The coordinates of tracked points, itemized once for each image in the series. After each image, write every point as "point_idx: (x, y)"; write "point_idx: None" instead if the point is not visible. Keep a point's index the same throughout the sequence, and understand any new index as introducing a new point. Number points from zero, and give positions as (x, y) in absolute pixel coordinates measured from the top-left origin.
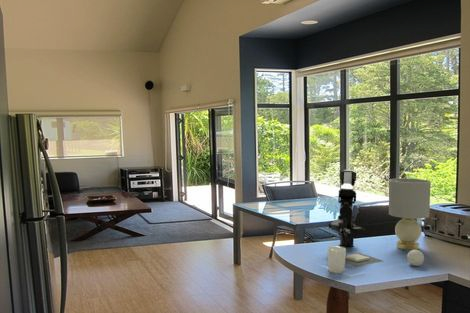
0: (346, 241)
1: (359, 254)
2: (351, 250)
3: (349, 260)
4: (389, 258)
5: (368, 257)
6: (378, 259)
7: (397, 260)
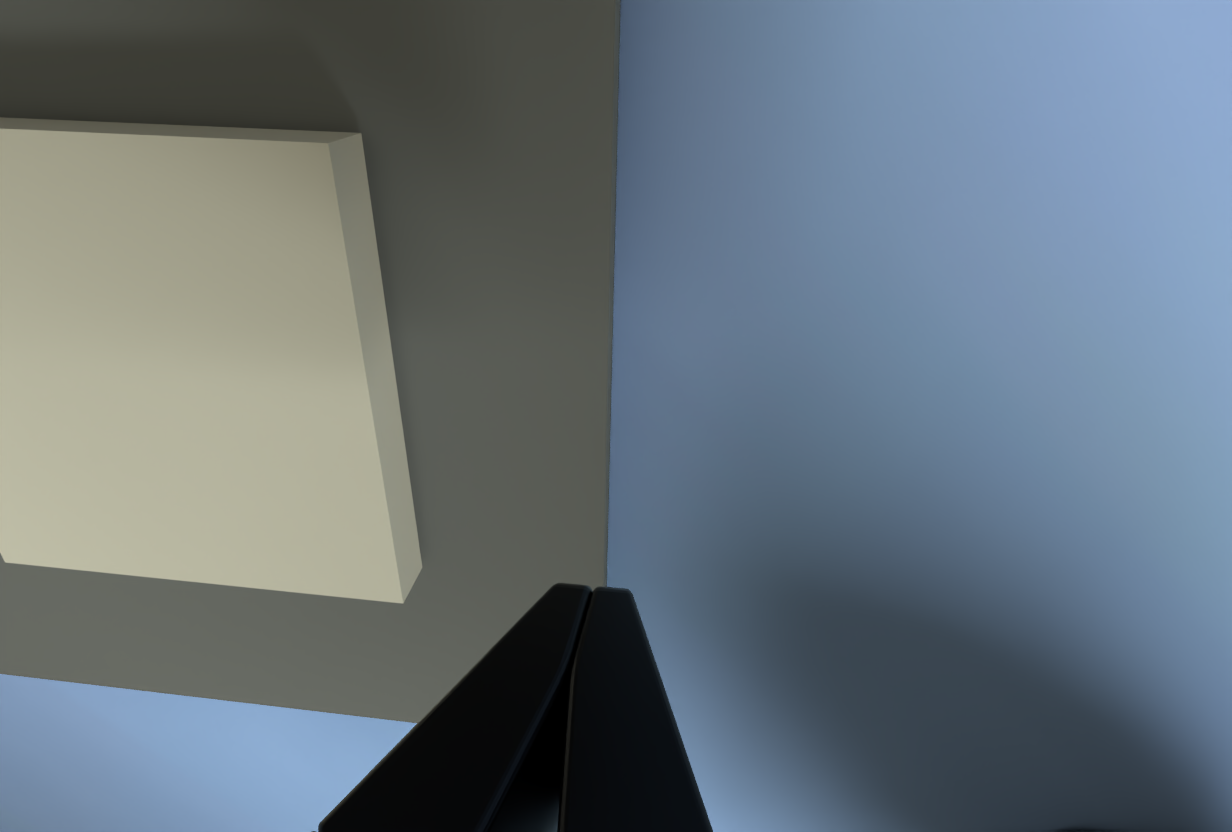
0: (424, 752)
1: (308, 582)
2: (896, 805)
3: (99, 59)
4: (180, 829)
5: (8, 544)
6: (64, 663)
7: (56, 823)
